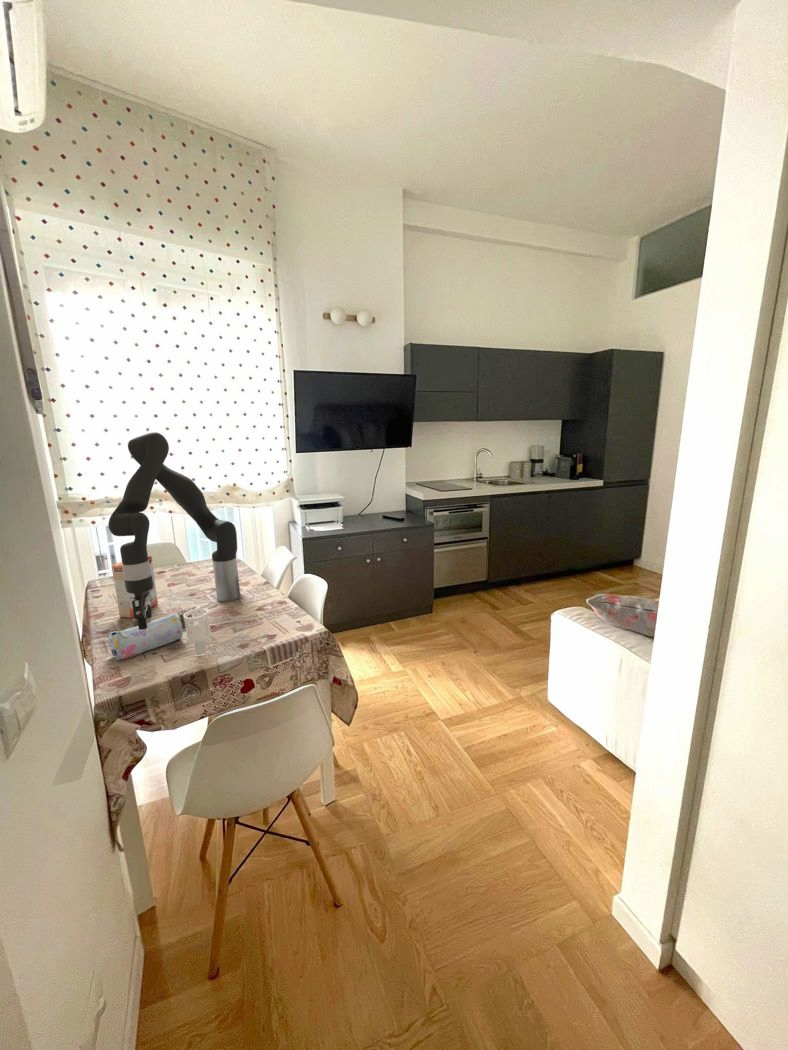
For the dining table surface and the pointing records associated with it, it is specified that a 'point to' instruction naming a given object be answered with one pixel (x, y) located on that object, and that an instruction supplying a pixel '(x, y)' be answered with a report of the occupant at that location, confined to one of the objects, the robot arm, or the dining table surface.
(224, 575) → the robot arm
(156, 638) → the pencil case
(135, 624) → the three-dot block
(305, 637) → the dining table surface
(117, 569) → the cracker box
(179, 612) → the two-dot block
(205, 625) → the strainer
